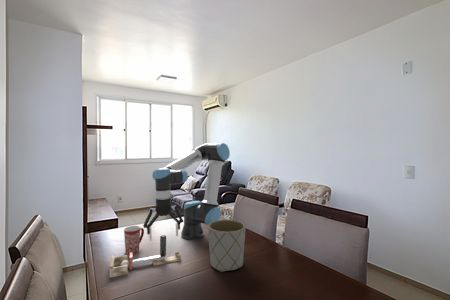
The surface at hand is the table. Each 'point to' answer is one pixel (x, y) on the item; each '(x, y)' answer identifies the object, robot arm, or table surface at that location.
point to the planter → (226, 244)
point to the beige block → (120, 269)
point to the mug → (133, 238)
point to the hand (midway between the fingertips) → (164, 238)
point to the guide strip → (168, 259)
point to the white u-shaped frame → (150, 259)
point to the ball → (125, 263)
